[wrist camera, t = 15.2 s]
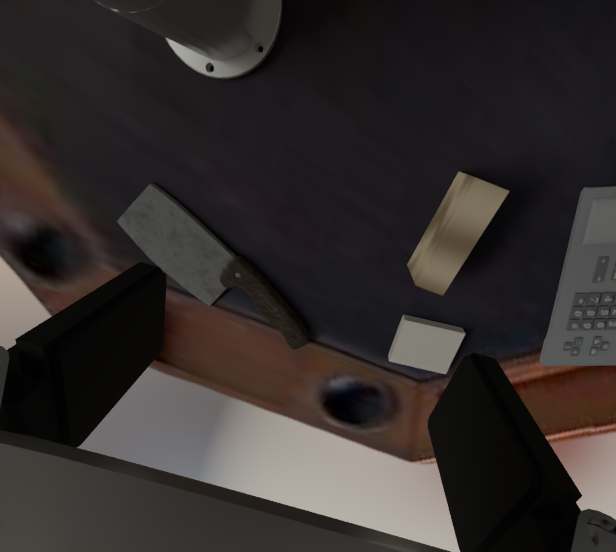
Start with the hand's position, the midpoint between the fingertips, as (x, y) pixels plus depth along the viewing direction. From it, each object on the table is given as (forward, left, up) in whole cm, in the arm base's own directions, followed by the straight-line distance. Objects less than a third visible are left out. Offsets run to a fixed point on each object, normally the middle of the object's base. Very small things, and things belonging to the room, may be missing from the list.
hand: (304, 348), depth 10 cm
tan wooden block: (+1, +13, -31) cm, 33 cm away
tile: (+14, +17, -30) cm, 37 cm away
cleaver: (+16, -12, -31) cm, 37 cm away
